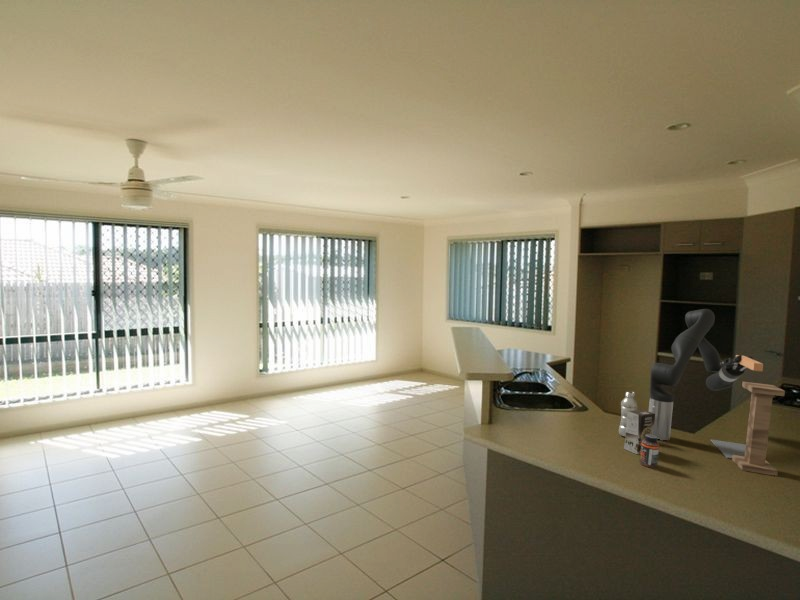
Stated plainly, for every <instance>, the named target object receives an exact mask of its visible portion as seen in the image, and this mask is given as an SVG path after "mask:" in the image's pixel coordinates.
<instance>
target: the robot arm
mask: <svg viewBox="0 0 800 600" xmlns="http://www.w3.org/2000/svg"><path fill="white" fill-rule="evenodd" d="M715 318H716V316H715V313H714V312H713V311H712V310H711V309H708V308H702V309H697V310H695V309H694V310H690V311H687V312H686V314H685V316H684V321H685V324H686V326H687V329H685V330H684V331H683V332H680V334H678V335H677V336H676V337H675V339H674V341H673V343H672V344H671V353H672V356H673V357H674V360H675V362H674V364H668V363H661V362H655V363H652V364H653V365H652V366H651V369H650V376H649V377H650V378H649V379H650V381H649V383H650V384H649V403H648V410H647V411H648V412H652V413H655V421H654V431H653V435H654V436H656V437H657V439H660V440H659V441H663V440H667V441H669V440H670V439H671V430H672V429H671V427H672V420H673V419H672V418H673V407H674V397H675V396H674V394H672V393H671V392H669V391H668V390H667V389H665V388H664V387H663V386H668V387H675V386H677V385H678V384H679V382H680V380H681V378H682V376H683V374H684V372H685V369H686V367H687V364H688V363H689V361H690V360H691V358H692V357H693V355H694V354H695V352H696V350H699V353H700V355H701V357H702V360H703V364H704V368H705V369H706V371H707V372H714V373H713V374H711V375H709V376H708V377H707V378H706V380H705V386H706V387H707V388H708V389H709V390H710V391H712V392H716V391H722V390H727V389H729V388H731V387H733V383H734V381H737V379H739V378H740V377H742V375H744V373H745V372H746V371H747V370H750V369H749V368H747V367H745V366H743V365H741V364H739V362H740V361H741V360H742V356H743V355H741V354H740V355H739V354H738V355H739V356H737V357H736V356H735V357H734V358H733V357H727V358H724V359H722V360H721V357H720V353H719V352H718V350H717V349H716V347H715V346H714V345H712V344H711V342H710V341H708V339H706V338H705V336H706V335H707V333H709V331H710V330H711V328H713V326H714V324H715ZM697 348H698V349H697ZM747 357H748V358H751V359H753V360H754V358H753V357H752V356H751V355H749V356H747ZM668 439H669V440H668Z"/></svg>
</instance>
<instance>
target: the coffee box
mask: <svg viewBox="0 0 800 600" xmlns="http://www.w3.org/2000/svg"><path fill="white" fill-rule="evenodd" d="M648 411H649V410H645V409H637V410H634V411H628V417H627V426H626V436H625V437H624V447H623V449H624V450H626V451H629V452H630V453H633V454H635V455H640V453H641V443H642V440H644V439H645V435H646V434H651V435H653V431H654V421H655V413H652V412H648Z"/></svg>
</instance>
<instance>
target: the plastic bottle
mask: <svg viewBox="0 0 800 600" xmlns="http://www.w3.org/2000/svg"><path fill="white" fill-rule="evenodd" d="M635 398H636V392H634V391H627V390H626V391H625V397H624V398H623V399H622V400H621V401H620V409H621V414H620V415H621V416H620V424H619V426H618V434H619V435H620V436H622V437H624V438H625V436H626V426H627V417H628V411H634V410H638V403H637V400H636V399H635Z"/></svg>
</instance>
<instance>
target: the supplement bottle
mask: <svg viewBox="0 0 800 600" xmlns="http://www.w3.org/2000/svg"><path fill="white" fill-rule="evenodd" d="M659 452H660V443H659V442H658V440H657V437H656V436H654V435H651V434H646V435H645V439H644V440H642V443H641V453H640V454H639V463H640V465H641V466H643V467H647V468H650V469H651V468H652V469H653V468H657V467H658V463H659V462H658V461H659Z"/></svg>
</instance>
